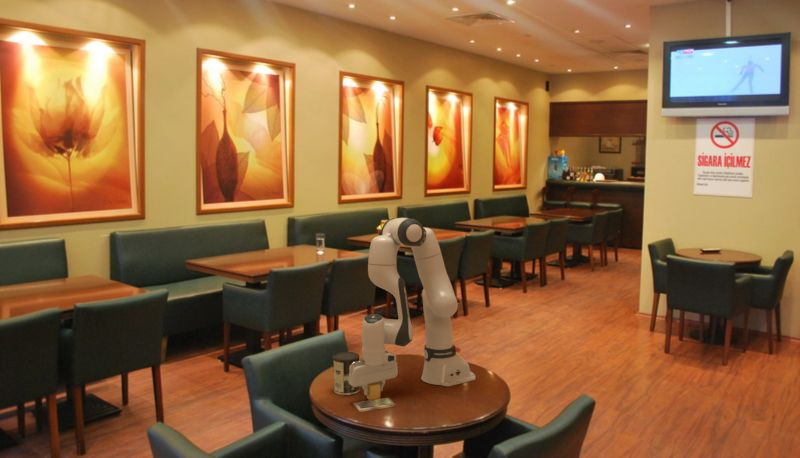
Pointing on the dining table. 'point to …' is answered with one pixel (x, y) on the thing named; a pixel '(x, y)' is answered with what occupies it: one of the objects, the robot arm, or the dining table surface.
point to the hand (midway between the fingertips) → (373, 392)
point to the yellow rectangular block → (373, 391)
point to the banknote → (373, 404)
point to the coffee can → (344, 372)
